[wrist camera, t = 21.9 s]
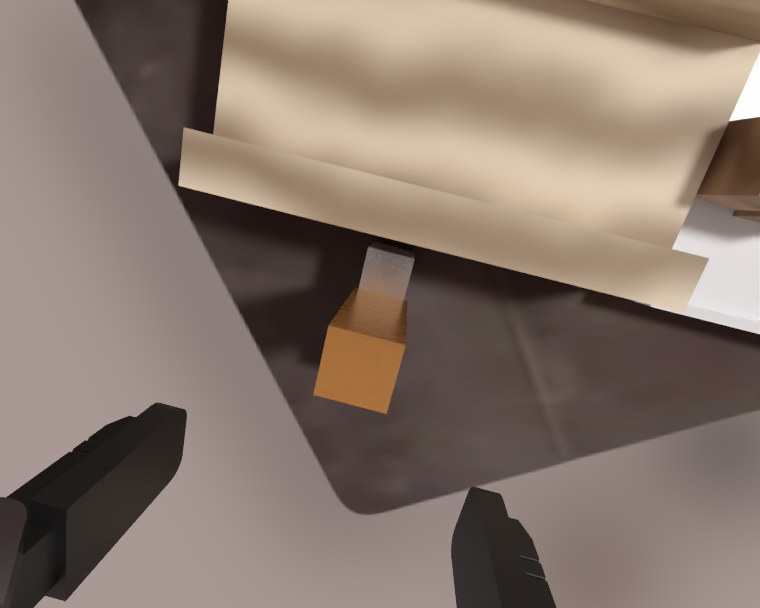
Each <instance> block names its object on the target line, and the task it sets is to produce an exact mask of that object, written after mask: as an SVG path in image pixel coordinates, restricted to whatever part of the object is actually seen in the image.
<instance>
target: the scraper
mask: <svg viewBox="0 0 760 608" xmlns="http://www.w3.org/2000/svg"><path fill="white" fill-rule="evenodd" d="M414 260H415V255H414V251H410V250H407V249H403V248H399V247H395V246H391V245H387V244H383V243H379V242H375V241H374V242H373V243H372V244H371V245H370V246H369V247H368V250H367V254H366V259H365V263H364V267H363V271H362V276H361V280H360V284H359V289H358V288H354V289H353V291H352V292H351V294H350V295H349V297H348V298H347V300H346V301H345V302H344V304H343V305H342V307H341V308H340V310H339V311H338V312H337V314H336V315H335V317H334V318H333V320H332V321H331V323H330V324H329V325H328V330H327V335H326V339H325V344H324V349H323V353H322V358H321V362H320V367H319V372H318V376H317V381H316V386H315V390H314V395H316V396H320V397H324V398H328V399H332V400H335V401H339V402H343V403H347V404H351V405H355V406H358V407H362V408H366V409H370V410H374V411H378V412H381V413H385V414H387V410H388V407H389V403H390V399H391V396H392V392H393V389H394V385H395V381H396V378H397V374H398V371H399V367H400V363H401V360H402V356H403V353H404V349H405V345H406V323H407V301H405V300H404V297H405V293H406V290H407V286H408V282H409V278H410V275H411V271H412V267H413V263H414Z"/></svg>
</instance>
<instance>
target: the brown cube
mask: <svg viewBox="0 0 760 608" xmlns="http://www.w3.org/2000/svg"><path fill="white" fill-rule="evenodd" d="M732 216H735V217H739V218H743V219H747V220H751V221H755V222H759V223H760V211H747V210H735V211H734V213H733V215H732Z"/></svg>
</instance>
